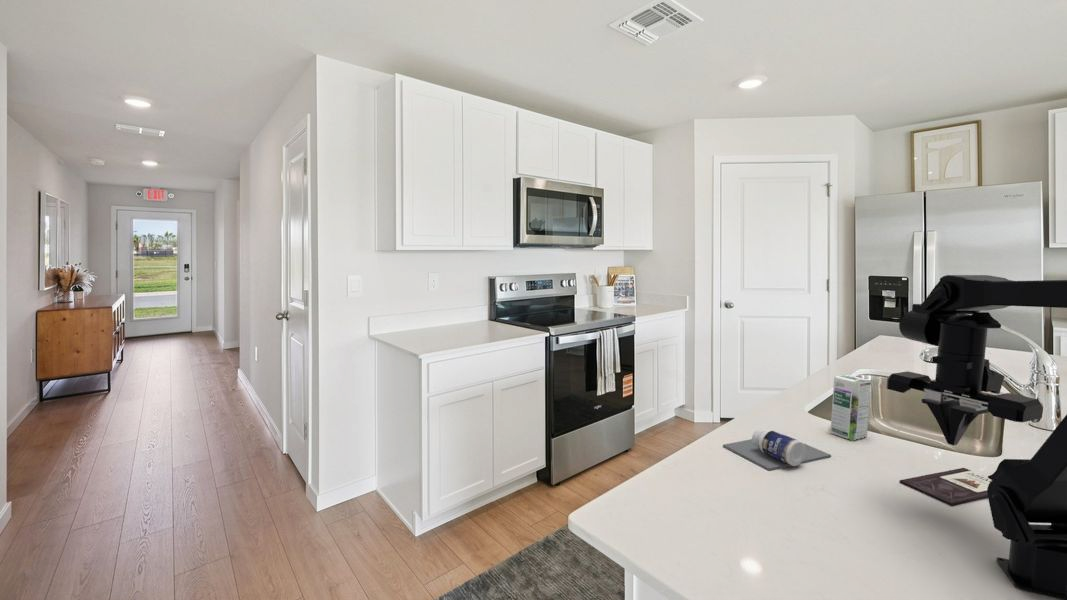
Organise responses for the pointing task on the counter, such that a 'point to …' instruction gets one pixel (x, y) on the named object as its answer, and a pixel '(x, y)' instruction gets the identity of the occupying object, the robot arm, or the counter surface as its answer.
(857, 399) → the syrup box
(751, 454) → the mat
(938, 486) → the chocolate bar
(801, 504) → the counter surface
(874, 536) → the counter surface
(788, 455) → the pill bottle
